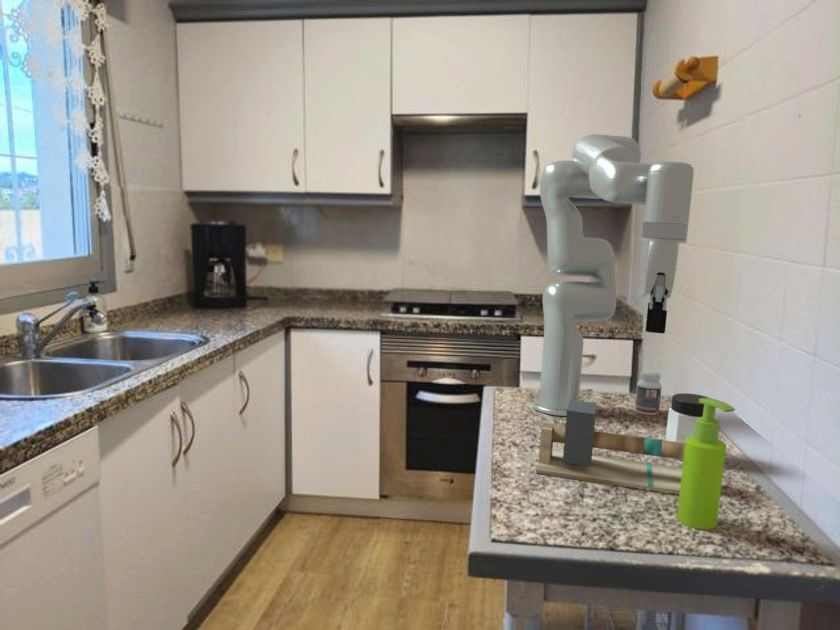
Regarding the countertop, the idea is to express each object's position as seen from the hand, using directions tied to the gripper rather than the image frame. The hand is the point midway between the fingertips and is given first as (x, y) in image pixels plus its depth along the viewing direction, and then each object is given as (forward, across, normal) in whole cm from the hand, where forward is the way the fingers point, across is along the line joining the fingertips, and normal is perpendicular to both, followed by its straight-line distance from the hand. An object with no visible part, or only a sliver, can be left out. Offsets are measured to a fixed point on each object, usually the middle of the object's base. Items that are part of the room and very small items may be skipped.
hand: (655, 328), depth 121 cm
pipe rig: (+28, +2, -4) cm, 28 cm away
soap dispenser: (+28, +18, +9) cm, 34 cm away
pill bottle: (+28, -43, 0) cm, 51 cm away
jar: (+28, -14, +9) cm, 33 cm away
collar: (+26, +3, -11) cm, 28 cm away
